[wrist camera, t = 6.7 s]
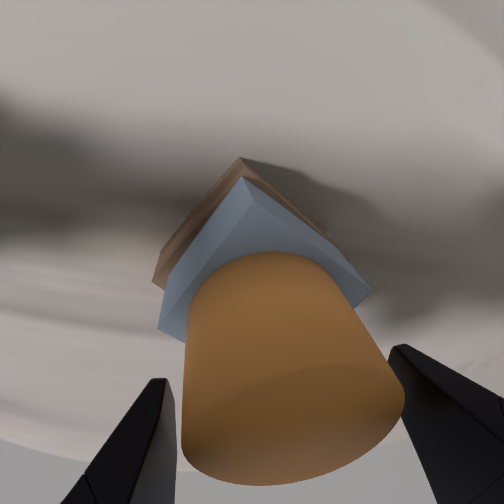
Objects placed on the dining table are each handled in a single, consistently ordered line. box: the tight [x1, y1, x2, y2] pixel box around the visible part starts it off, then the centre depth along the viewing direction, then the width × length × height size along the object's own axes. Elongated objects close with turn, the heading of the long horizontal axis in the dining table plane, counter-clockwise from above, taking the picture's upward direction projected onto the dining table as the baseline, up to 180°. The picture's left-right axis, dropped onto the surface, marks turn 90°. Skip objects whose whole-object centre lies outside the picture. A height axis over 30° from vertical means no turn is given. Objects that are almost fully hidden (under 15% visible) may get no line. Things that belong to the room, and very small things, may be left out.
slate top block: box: [157, 176, 372, 343], centre depth 11 cm, size 5×5×4 cm
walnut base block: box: [152, 157, 349, 290], centre depth 15 cm, size 6×6×4 cm
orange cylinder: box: [181, 251, 405, 486], centre depth 8 cm, size 5×5×4 cm
